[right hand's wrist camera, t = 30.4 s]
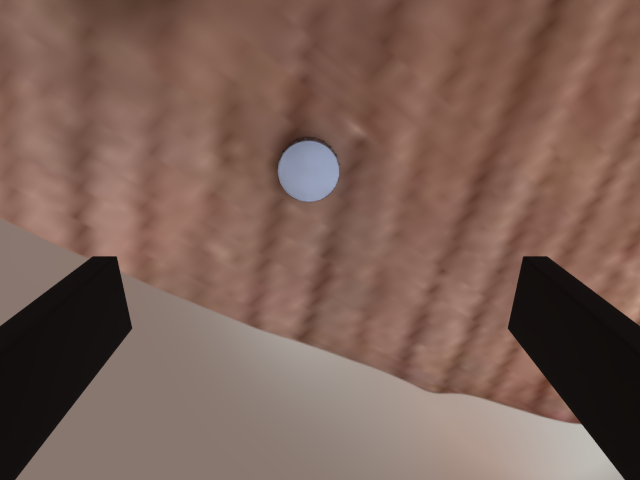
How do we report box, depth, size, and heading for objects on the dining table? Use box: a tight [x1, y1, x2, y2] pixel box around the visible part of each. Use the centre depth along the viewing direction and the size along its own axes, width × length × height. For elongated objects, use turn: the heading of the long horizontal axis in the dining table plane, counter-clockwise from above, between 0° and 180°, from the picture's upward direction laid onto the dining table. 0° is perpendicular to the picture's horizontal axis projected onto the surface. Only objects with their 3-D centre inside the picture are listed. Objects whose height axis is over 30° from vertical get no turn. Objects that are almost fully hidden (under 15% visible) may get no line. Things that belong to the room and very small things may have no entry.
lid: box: [277, 137, 340, 202], centre depth 33 cm, size 5×5×2 cm
